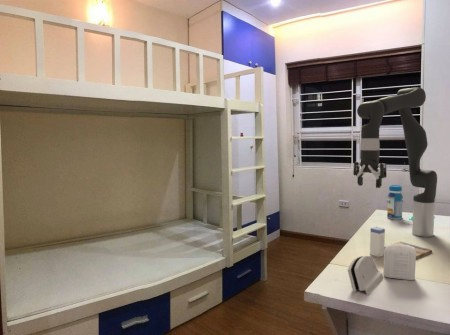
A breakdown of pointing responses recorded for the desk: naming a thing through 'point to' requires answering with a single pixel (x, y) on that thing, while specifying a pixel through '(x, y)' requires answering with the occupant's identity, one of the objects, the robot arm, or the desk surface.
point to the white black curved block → (364, 274)
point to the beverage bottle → (395, 202)
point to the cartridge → (377, 241)
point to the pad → (417, 250)
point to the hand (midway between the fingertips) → (369, 186)
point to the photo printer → (399, 261)
